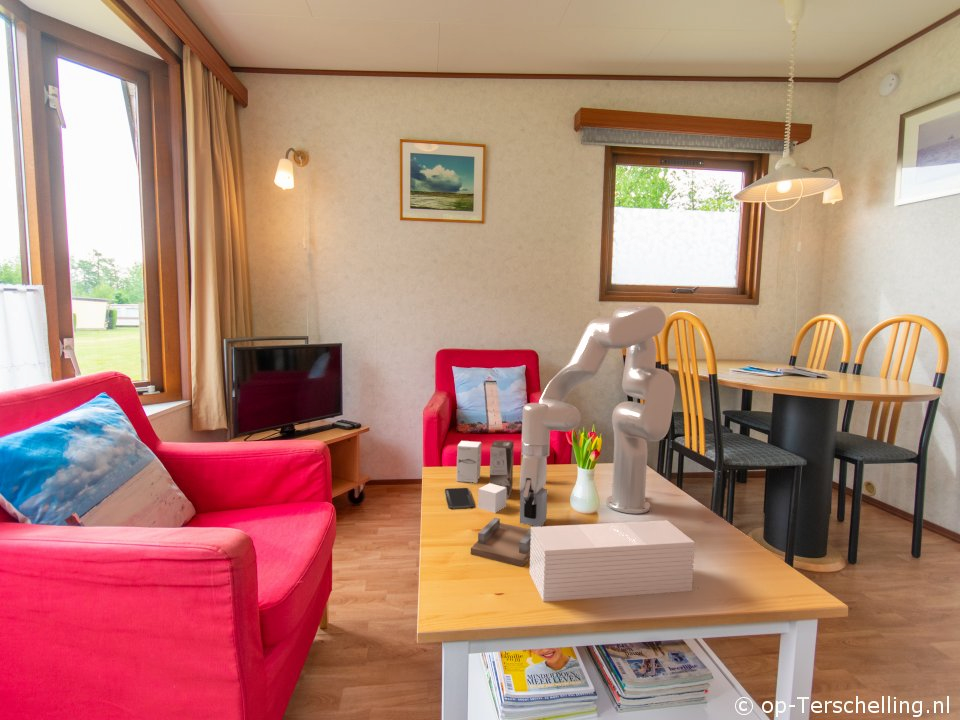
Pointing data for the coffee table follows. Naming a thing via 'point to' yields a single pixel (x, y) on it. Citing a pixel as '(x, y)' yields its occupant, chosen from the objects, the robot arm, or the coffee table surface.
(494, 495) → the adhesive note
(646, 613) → the coffee table surface
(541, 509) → the slate block
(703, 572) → the coffee table surface
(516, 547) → the display stand
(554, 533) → the stack of papers
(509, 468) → the coffee box
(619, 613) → the coffee table surface
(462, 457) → the supplement box
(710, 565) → the coffee table surface
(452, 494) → the phone
